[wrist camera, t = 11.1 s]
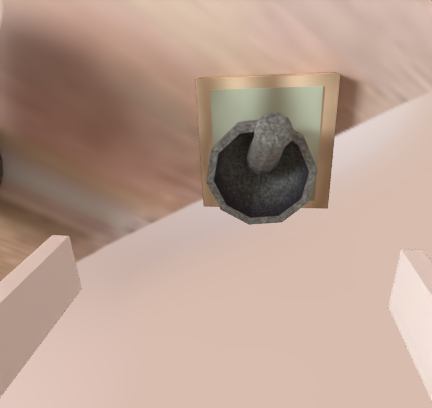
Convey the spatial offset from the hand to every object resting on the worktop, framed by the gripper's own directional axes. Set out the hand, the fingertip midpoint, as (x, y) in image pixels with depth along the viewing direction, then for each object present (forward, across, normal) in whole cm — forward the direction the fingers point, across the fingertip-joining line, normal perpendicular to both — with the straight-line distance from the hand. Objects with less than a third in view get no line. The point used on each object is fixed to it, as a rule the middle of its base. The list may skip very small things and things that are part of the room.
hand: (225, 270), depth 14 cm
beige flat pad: (+27, +2, -2) cm, 27 cm away
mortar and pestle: (+25, +1, -2) cm, 25 cm away
